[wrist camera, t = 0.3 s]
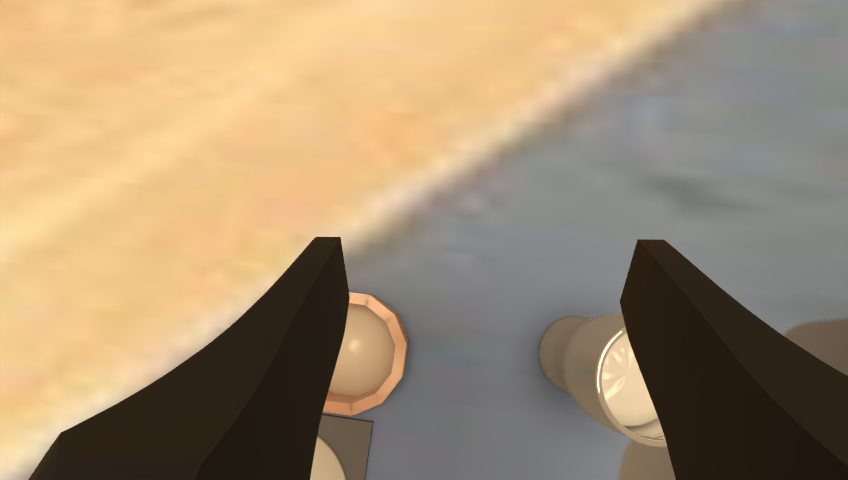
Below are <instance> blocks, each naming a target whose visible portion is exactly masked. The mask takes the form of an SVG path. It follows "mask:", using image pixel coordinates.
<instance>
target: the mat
mask: <svg viewBox="0 0 848 480" xmlns="http://www.w3.org/2000/svg"><path fill="white" fill-rule="evenodd" d="M372 426H373V421H366V420H360V419H353V418H346V417H339V416H332V415H326V414H322V417H321V421H320V425H319V430H318V435H319V436H320V437H321V438H323V439H324V440H325V441H326V442H327V443H328V444H329V445H330V446H331V448H332V449H333V450H334V451H335V453H336V454H337V456H338V458H339V459H340V461H341V464H342V466H343V468H344V472H345V475H346V479H347V480H365V474H366V467H367V460H368V454H369V447H370V440H371V433H372Z"/></svg>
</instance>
